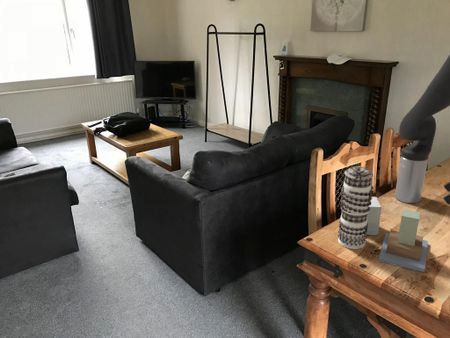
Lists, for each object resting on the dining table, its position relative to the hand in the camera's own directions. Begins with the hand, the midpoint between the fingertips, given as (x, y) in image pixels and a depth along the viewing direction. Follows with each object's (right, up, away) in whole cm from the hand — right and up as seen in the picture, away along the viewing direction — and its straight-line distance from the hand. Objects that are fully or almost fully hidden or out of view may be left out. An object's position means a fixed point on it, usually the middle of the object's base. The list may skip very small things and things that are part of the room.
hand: (445, 194), depth 99 cm
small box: (-12, -14, +24) cm, 30 cm away
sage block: (-6, -14, +10) cm, 18 cm away
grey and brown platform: (-6, -18, +11) cm, 22 cm away
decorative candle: (-20, -16, +17) cm, 31 cm away
